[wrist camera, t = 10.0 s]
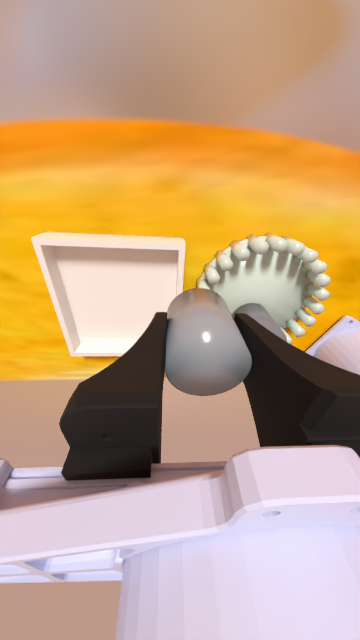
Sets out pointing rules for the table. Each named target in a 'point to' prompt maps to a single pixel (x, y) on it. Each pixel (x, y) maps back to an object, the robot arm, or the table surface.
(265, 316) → the pebble charcoal
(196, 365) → the pebble slate
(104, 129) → the table surface
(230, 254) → the celadon bowl
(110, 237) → the parts tray
